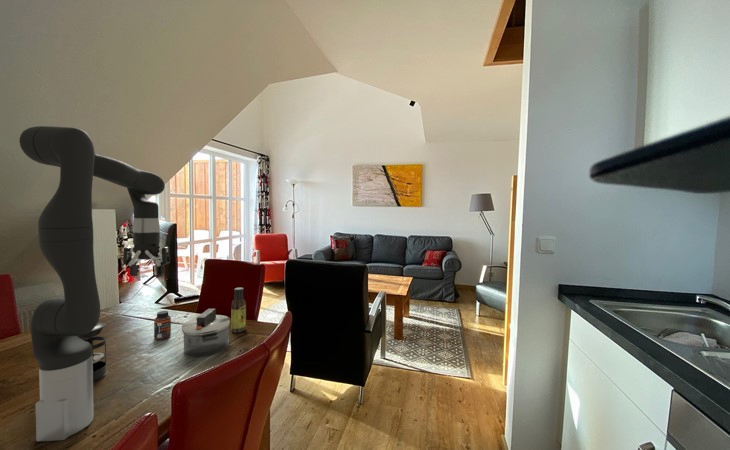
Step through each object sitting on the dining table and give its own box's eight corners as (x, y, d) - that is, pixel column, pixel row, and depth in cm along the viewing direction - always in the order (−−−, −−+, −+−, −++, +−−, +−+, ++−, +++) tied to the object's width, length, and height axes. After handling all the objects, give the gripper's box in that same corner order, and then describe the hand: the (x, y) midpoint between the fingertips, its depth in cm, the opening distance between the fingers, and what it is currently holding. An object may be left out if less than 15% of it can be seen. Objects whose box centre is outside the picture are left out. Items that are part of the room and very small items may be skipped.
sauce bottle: (243, 333, 128) (243, 290, 128) (229, 333, 127) (229, 290, 127) (247, 327, 135) (247, 286, 134) (233, 327, 134) (233, 286, 133)
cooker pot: (234, 352, 110) (234, 330, 110) (184, 365, 101) (183, 340, 100) (225, 332, 128) (225, 313, 128) (181, 341, 119) (181, 320, 118)
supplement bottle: (162, 341, 119) (161, 315, 118) (150, 339, 120) (150, 313, 119) (174, 335, 125) (174, 310, 124) (163, 334, 126) (162, 309, 125)
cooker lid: (219, 333, 106) (219, 320, 106) (172, 334, 105) (172, 321, 105) (235, 317, 123) (235, 305, 123) (195, 317, 122) (195, 306, 122)
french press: (111, 366, 99) (110, 302, 98) (109, 378, 92) (108, 309, 91) (62, 378, 92) (61, 309, 91) (56, 392, 84) (54, 317, 84)
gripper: (116, 231, 95) (117, 278, 95) (161, 231, 96) (161, 278, 97) (132, 230, 102) (133, 273, 103) (174, 230, 104) (174, 273, 104)
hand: (147, 276), depth 100 cm, fingers open, 8 cm apart
